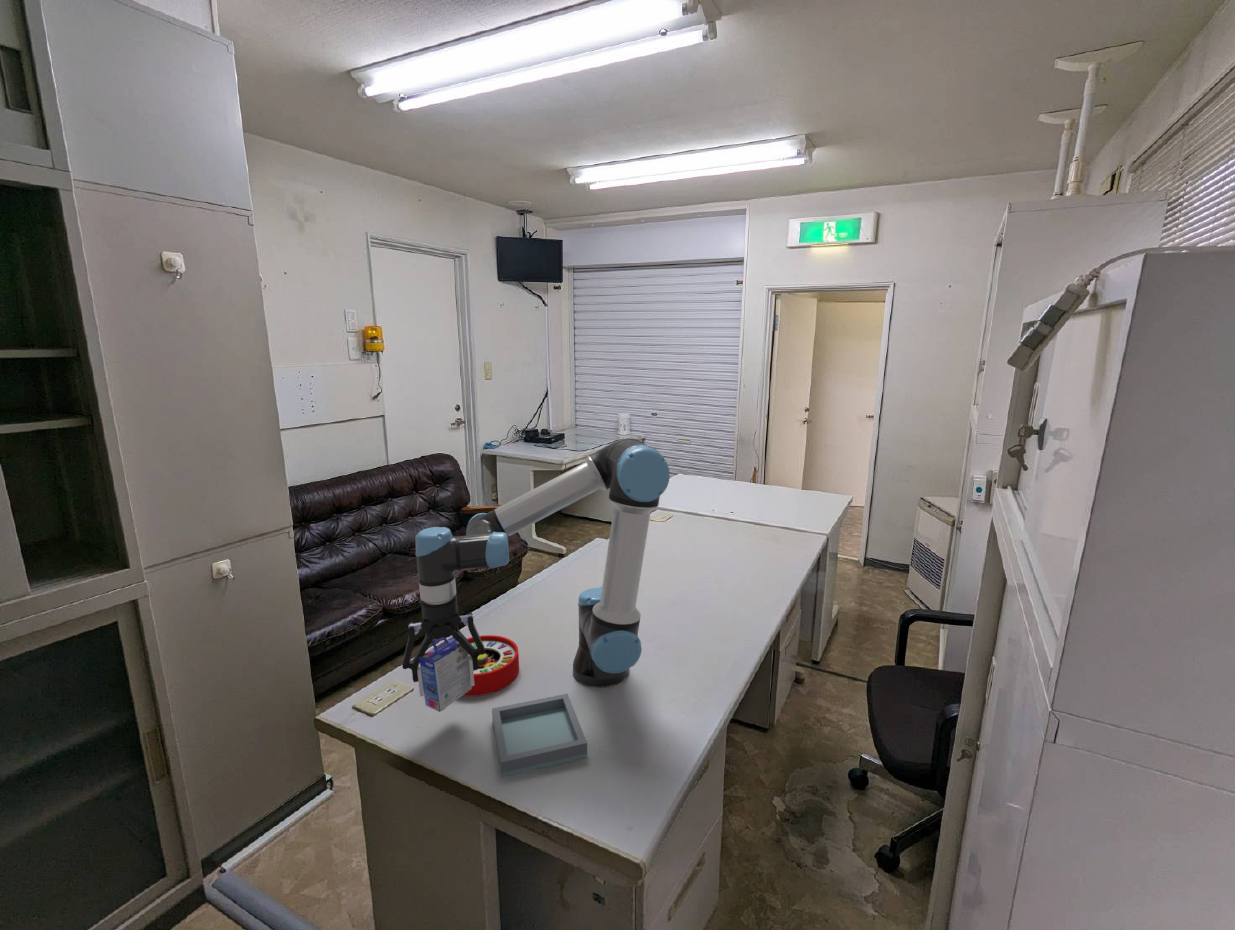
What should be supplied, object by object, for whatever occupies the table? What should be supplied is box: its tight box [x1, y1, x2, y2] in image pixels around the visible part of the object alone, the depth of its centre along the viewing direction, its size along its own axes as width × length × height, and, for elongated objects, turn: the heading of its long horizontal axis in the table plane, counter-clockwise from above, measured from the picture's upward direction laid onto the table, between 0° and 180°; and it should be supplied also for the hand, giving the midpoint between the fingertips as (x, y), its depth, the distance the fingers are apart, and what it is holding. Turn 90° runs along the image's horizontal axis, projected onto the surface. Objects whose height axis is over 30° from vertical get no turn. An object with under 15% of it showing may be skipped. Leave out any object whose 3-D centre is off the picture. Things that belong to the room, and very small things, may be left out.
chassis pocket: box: [491, 693, 588, 778], centre depth 122 cm, size 18×18×4 cm
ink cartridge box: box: [419, 636, 471, 713], centre depth 123 cm, size 10×6×14 cm, turn 150°
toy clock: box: [463, 634, 520, 697], centre depth 147 cm, size 20×6×20 cm
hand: (447, 687), depth 124 cm, fingers closed on ink cartridge box, 10 cm apart
